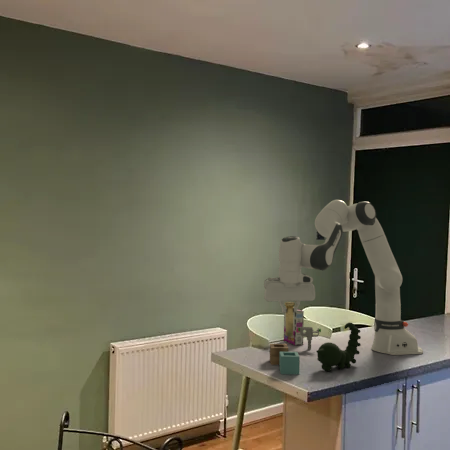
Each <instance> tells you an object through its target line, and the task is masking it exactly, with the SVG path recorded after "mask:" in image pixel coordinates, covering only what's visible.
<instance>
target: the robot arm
mask: <svg viewBox="0 0 450 450" xmlns="http://www.w3.org/2000/svg"><path fill="white" fill-rule="evenodd" d="M314 226H315V230H316V231H317V232H318V234H319V235H320V236H322V237H323V238H326V239H325V240H324V242H323V243H320V244H309V243H307V244H305V243H303V242H302V241H301V239H300V237H299V236H295V235H290V236H285V237H283V238H281V240H280V243H279V248H278V249H279V250H278V261H279V267H278V277H268V278H267V279H265V280H264V281H263V285H264V294H263V297H264V298H263V299H264V300H265V301H266V302H270V303H271V302H278V304H279V305H280V307H281V312H282V313H283V314H284V313H286V312H287V311H286V310H287V308H286V306H285V302H294V303H295V306H293V312H297V309H298V308H299V306H300V305H301V302H312V301H315V299H316V288H315V287H316V286H315V285H314V284H313V282H314V278H313V277H312V276H310V275H307V274H305V273H302V268H304V269H310V270H311V269H313V270H318V271H325V270H327V269H328V268H330V266H332V263H333V261H334V258H335V253H336V252H337V249H338V246H339V244H340V241H341V239H342V237H343V234H344V233H348V232H352V231H355V230H356V231H357V233H358V236H359V240H360V242H361V245H362V247H363V249H364V252H365V255H366V257H367V260H368V263H369V264H370V267H371V269H372V272H373V275H374V290H375V291H374V292H375V318H374V322H373V328H374V337H373V341H372V345H371V347H370V348H371V350H372V351H375V352H378V353H381V354H382V353H383V354H388V355H391V356H392V355H393V356H400V355H420V354H421V355H422V354H423V353H424V350H423V348H422V347H420V346H419V345H418V344H419V343H418V340H417V338H416V336H415V335H413V334H412V333H411V332H410V331H409V330H407V329H406V328H407V327H408V326H409V323H408V322H406V321H404V320H402V319H401V313H402V312H401V311H402V310H401V308H402V307H401V305H402V304H401V288H400V287H401V286H402V283H403V275H402V273H401V271H400V267H399V265H398V263H397V260H396V258H395V256H394V254H393V252H392V249H391V247H390V244H389V242H388V238H387V236H386V234H385V232H384V229H383V227H382V225H381V223H380V222H379V220H378V218H377V211H376V208H375V207H374V205H373V204H372V203H371V202H369V201H359V202H358V203H353V204H350V205H347V203H346V202H345V201H343V200H341V199H333V200H332V201H330V202H329V203H326V205H325V206H324V207H323V208H322V209H321V210H320V212H319V213H318V214H317V215H316V217H315V220H314Z"/></svg>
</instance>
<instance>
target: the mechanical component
mask: <svg viewBox="0 0 450 450" xmlns="http://www.w3.org/2000/svg"><path fill="white" fill-rule="evenodd" d="M298 331H300V335H301V336H303V337H306V340H307V349H308V350H309V351H310V350H311V349H312V340H313V338H315V337H316V338H317V337H319V336H320V333H322V329H321V328H320V327H317V329H316V331H315V330H314V329H313V327H311V326H303V327H300V328H298Z"/></svg>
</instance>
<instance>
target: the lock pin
mask: <svg viewBox="0 0 450 450" xmlns="http://www.w3.org/2000/svg"><path fill="white" fill-rule="evenodd" d="M295 305H296V303H295V301H284V307H285V308H287V310H286V311H287V312H286V336H293V307H295Z"/></svg>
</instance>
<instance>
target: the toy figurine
mask: <svg viewBox="0 0 450 450" xmlns="http://www.w3.org/2000/svg"><path fill="white" fill-rule="evenodd" d="M347 329H350V332H349V335H348V337H349V339H348V341H347V345H346V347H345V349H344V350H343V349H341V348H340V347H339V345H337V344H336V343H333V342H330V341H329V342H324V343H322V344H321V345H320V346H319V347H318V350H316V351H315V352H316V353H317V361H318V362H320V363H321V370H323V371H324V372H331V370H332V367H338V368H339V369H341V370H342V369H345V368H351V366H352V365H351V363H352V364H356V363H357V359H355V355H360V353H361V352H360V351H359V350H358V347H361V346H362V345H361V343H360V342H358V340H360V339H361V335H359V334H360V333H361V331H362V330H361V329H359V328H358V327H357V326H356V324H354V323H353V322H347V323H346V324H345V325H344V330H347Z"/></svg>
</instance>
